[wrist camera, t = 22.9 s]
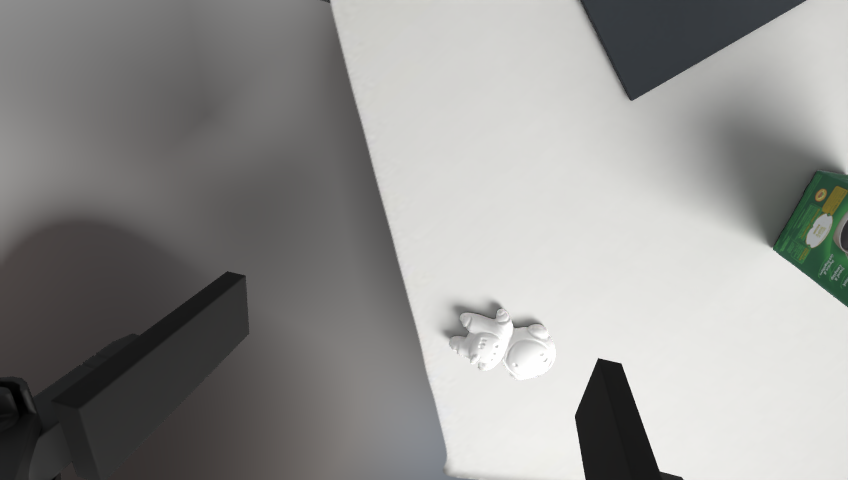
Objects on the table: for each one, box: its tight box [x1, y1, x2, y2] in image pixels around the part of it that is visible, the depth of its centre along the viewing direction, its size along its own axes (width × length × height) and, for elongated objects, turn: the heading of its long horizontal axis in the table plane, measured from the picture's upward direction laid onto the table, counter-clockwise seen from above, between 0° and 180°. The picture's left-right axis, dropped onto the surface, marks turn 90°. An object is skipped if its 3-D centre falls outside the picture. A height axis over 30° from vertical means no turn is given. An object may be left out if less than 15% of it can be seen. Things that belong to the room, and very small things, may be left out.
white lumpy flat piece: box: [449, 308, 556, 380], centre depth 47 cm, size 9×12×3 cm
